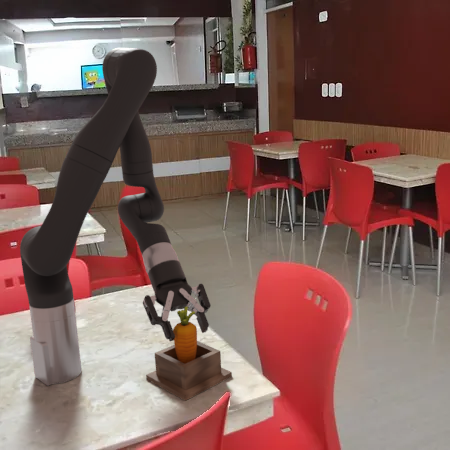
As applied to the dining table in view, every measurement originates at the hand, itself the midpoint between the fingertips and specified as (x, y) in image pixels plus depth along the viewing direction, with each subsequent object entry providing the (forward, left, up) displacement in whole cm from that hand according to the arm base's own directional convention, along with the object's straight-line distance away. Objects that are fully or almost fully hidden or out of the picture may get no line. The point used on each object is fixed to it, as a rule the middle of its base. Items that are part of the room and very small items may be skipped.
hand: (189, 335), depth 114 cm
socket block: (0, +2, -10) cm, 11 cm away
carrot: (0, +2, -10) cm, 10 cm away
